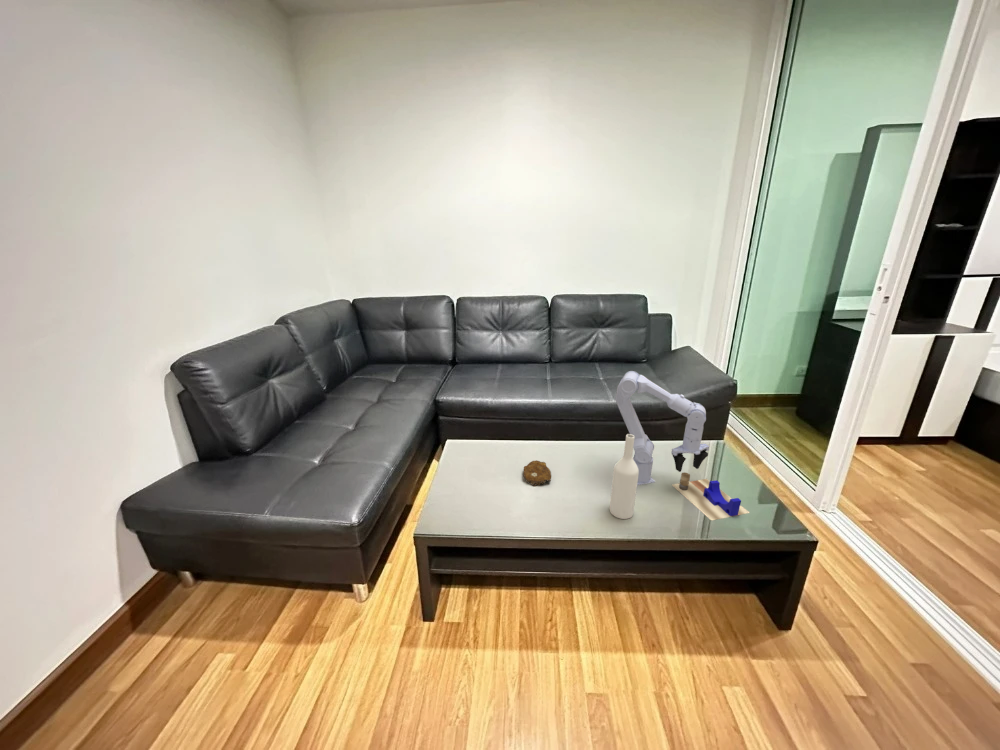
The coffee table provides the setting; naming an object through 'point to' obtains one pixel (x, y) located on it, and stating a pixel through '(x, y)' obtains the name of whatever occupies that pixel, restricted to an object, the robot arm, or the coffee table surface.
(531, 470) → the decorative rock
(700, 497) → the plywood sheet
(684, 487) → the cylindrical peg
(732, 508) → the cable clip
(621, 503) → the bottle
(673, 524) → the coffee table surface
